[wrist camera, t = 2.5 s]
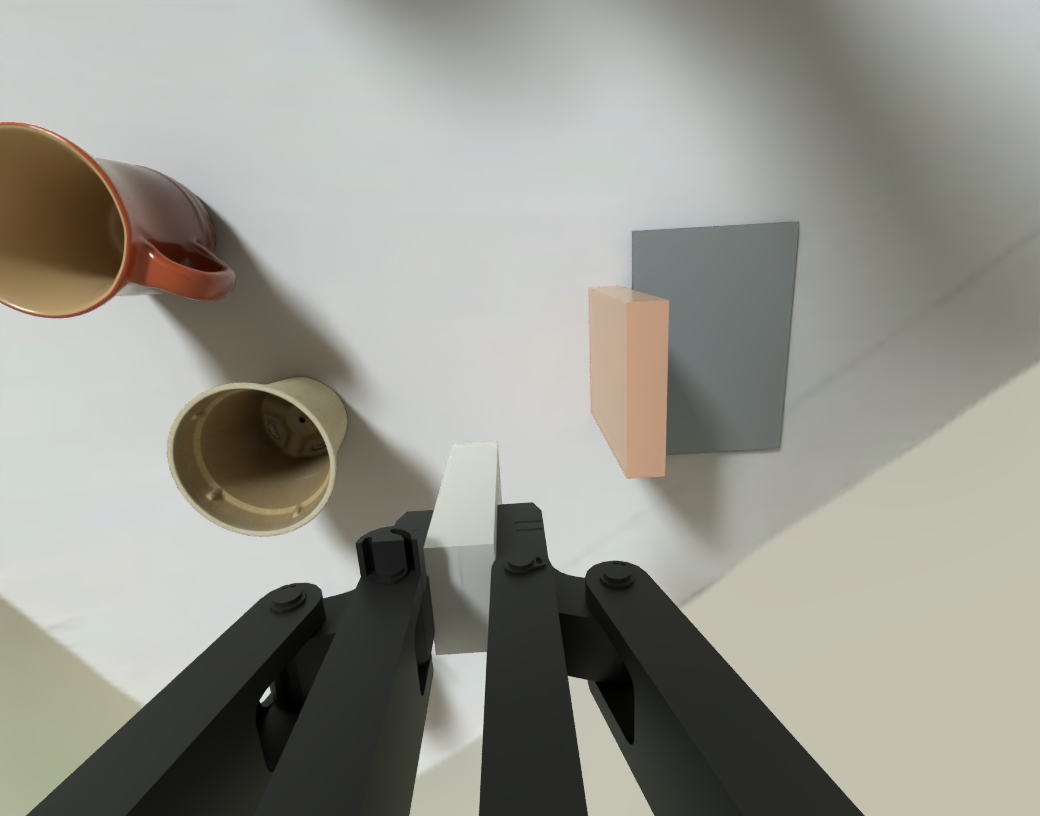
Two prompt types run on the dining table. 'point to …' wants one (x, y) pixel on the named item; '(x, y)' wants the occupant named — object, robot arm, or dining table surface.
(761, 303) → the mat
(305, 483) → the flower pot
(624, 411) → the tile
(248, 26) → the dining table surface
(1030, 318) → the dining table surface
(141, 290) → the mug
